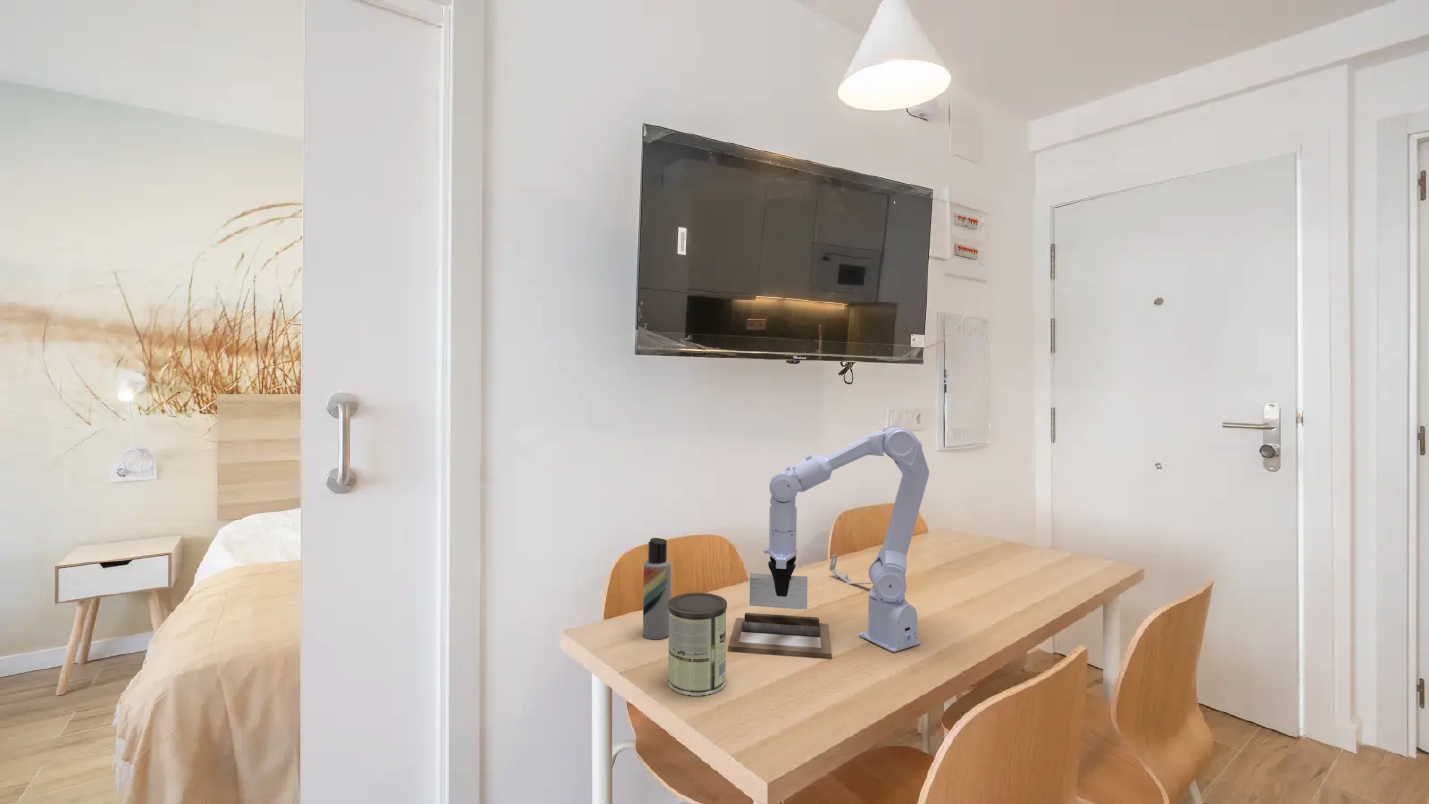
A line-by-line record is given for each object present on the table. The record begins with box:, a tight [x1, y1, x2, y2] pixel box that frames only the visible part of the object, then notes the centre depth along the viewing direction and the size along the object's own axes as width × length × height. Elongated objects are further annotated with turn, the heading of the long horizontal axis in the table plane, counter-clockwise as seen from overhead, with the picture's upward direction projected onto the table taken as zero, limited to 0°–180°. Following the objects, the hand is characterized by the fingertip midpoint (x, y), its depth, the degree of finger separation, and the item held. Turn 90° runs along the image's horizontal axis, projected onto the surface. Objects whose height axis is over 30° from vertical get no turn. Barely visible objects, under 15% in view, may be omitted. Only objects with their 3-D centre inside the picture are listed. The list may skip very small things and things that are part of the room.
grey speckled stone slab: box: [749, 572, 808, 611], centre depth 126 cm, size 12×3×6 cm, turn 81°
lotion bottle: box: [642, 537, 672, 640], centre depth 124 cm, size 6×6×20 cm
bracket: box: [829, 554, 873, 585], centre depth 159 cm, size 2×6×15 cm
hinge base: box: [727, 612, 833, 660], centre depth 122 cm, size 20×15×3 cm
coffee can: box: [667, 592, 728, 697], centre depth 104 cm, size 10×10×14 cm
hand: (782, 593), depth 126 cm, fingers closed on grey speckled stone slab, 3 cm apart
